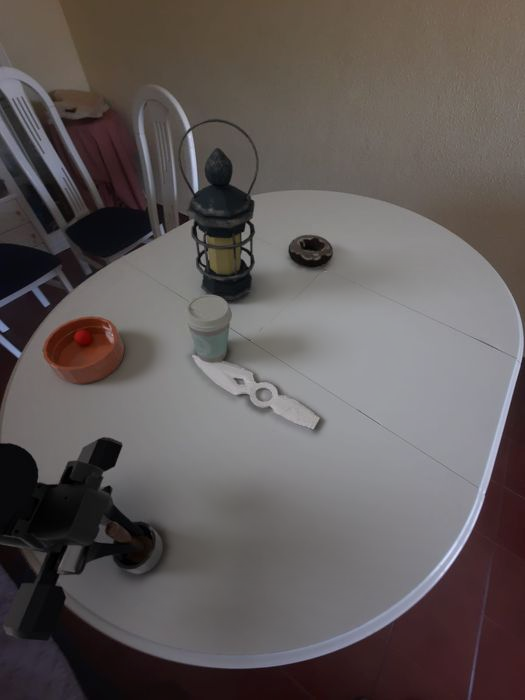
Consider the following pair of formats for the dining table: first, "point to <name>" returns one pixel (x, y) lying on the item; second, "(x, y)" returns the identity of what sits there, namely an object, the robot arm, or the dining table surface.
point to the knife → (280, 404)
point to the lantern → (222, 224)
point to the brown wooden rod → (130, 541)
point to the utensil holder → (150, 560)
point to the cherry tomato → (82, 337)
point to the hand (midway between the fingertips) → (139, 541)
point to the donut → (313, 258)
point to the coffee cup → (209, 326)
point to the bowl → (84, 350)
